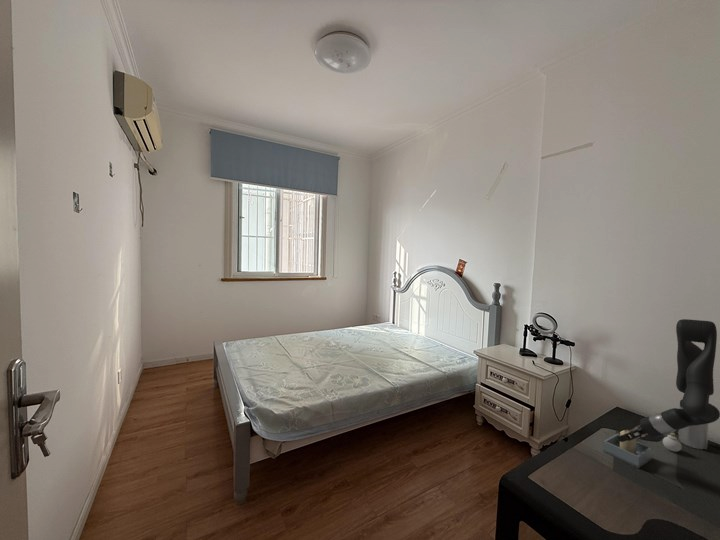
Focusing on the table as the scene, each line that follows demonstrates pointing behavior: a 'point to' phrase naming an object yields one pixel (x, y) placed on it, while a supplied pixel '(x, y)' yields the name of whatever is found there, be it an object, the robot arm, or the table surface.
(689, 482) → the table surface
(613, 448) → the tray
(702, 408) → the robot arm
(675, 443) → the ornament
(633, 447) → the candle
